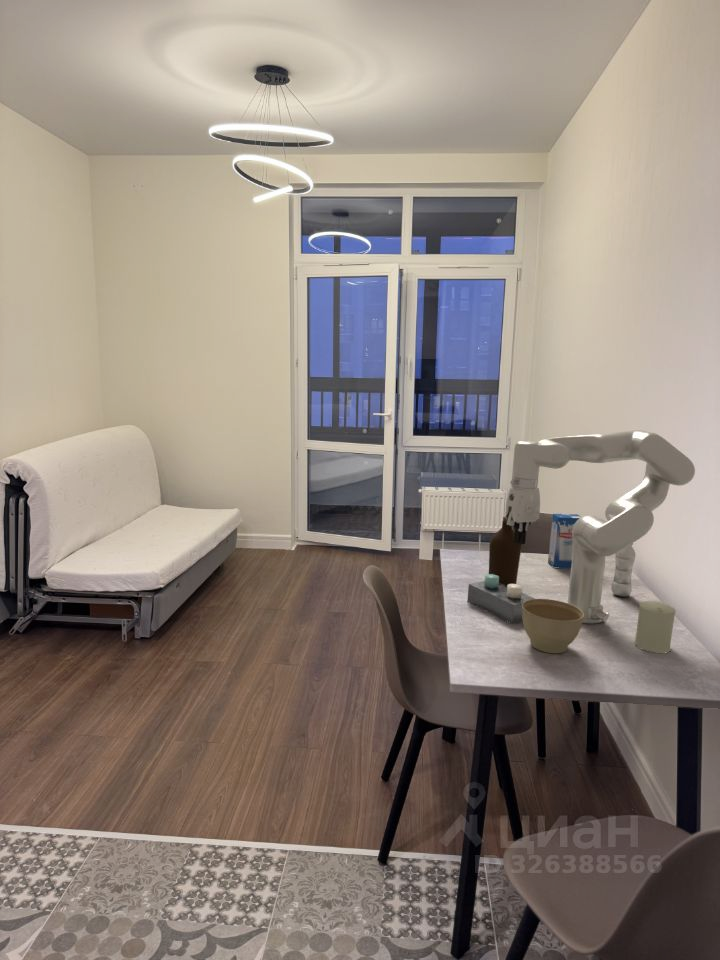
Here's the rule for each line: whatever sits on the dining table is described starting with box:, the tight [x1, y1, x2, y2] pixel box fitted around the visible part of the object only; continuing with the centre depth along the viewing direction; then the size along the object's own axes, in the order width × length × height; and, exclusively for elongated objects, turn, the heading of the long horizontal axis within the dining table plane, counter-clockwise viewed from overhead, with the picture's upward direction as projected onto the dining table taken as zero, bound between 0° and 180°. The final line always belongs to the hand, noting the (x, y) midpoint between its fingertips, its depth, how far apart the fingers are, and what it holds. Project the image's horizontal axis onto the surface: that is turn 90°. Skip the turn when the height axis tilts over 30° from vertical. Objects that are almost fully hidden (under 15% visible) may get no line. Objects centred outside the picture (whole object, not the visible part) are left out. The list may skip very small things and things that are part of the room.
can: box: [634, 600, 677, 654], centre depth 178 cm, size 9×9×12 cm
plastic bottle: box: [610, 542, 637, 598], centre depth 218 cm, size 6×7×20 cm
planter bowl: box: [522, 598, 584, 654], centre depth 175 cm, size 16×16×11 cm
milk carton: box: [547, 513, 582, 569], centre depth 249 cm, size 10×6×20 cm, turn 94°
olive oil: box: [488, 516, 522, 586], centre depth 220 cm, size 11×11×25 cm
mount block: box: [466, 580, 536, 625], centre depth 201 cm, size 20×10×6 cm, turn 32°
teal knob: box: [484, 573, 499, 589], centre depth 205 cm, size 4×4×9 cm
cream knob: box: [507, 583, 523, 599], centre depth 197 cm, size 4×4×9 cm
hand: (519, 543), depth 193 cm, fingers closed
